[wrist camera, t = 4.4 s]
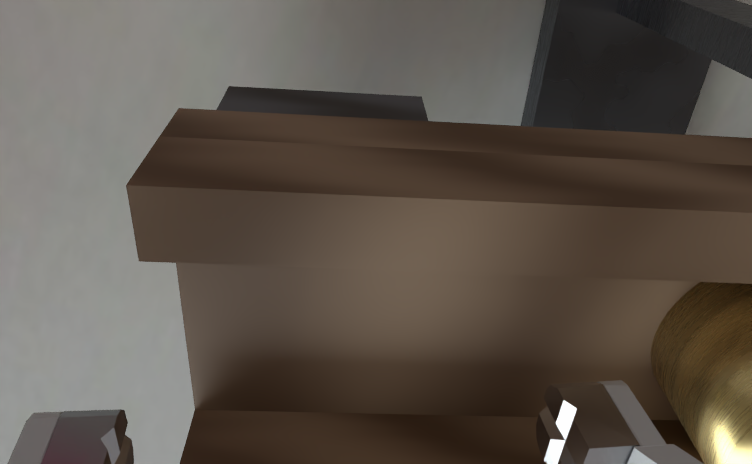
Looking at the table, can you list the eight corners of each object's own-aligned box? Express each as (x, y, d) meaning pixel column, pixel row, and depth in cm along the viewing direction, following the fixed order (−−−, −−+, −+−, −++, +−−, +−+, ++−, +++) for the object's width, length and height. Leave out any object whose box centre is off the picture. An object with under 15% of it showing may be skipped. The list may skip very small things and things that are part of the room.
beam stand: (485, 299, 27) (587, 519, 18) (556, -46, 19) (786, 42, 11) (611, 294, 28) (766, 502, 19) (725, -37, 20) (1066, 52, 12)
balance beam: (230, 351, 20) (185, 534, 15) (205, 37, 15) (119, 144, 9) (1005, 372, 22) (1220, 544, 17) (1236, 99, 17) (1670, 220, 11)
